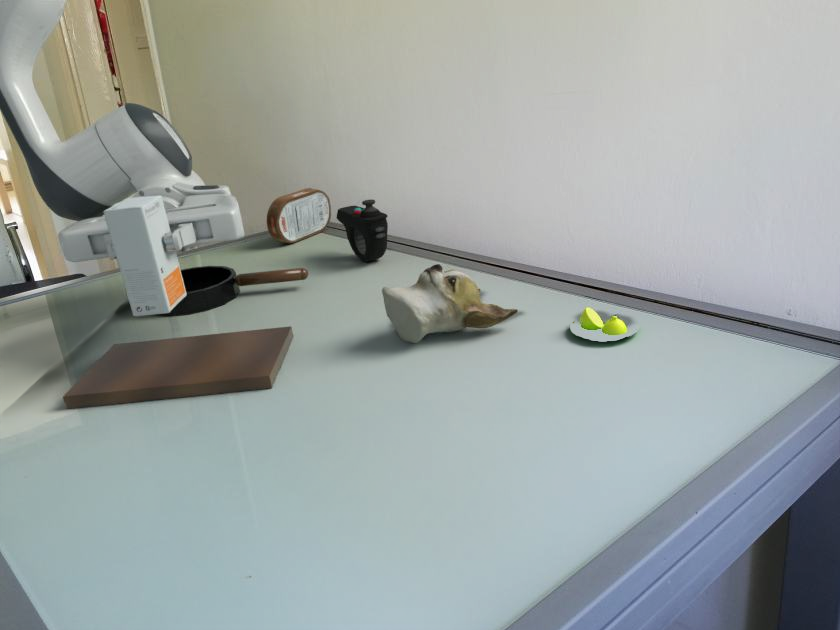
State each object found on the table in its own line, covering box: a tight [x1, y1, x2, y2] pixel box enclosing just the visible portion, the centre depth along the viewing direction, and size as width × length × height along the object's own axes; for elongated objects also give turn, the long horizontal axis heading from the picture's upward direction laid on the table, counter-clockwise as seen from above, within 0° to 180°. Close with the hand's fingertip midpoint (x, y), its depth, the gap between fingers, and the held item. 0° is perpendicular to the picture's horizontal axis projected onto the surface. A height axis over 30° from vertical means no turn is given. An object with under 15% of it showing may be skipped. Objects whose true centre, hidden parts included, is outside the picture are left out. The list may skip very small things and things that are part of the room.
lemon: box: [579, 307, 627, 335], centre depth 83 cm, size 8×8×3 cm
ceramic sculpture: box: [381, 263, 519, 344], centre depth 86 cm, size 11×9×15 cm
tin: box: [266, 187, 332, 244], centre depth 133 cm, size 15×3×8 cm, turn 149°
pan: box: [154, 265, 309, 317], centre depth 107 cm, size 24×13×3 cm, turn 92°
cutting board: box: [62, 325, 294, 410], centre depth 83 cm, size 22×14×2 cm, turn 93°
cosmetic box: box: [103, 195, 187, 317], centre depth 80 cm, size 6×4×12 cm
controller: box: [336, 199, 389, 262], centre depth 117 cm, size 4×12×10 cm, turn 34°
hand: (143, 247), depth 79 cm, fingers closed on cosmetic box, 4 cm apart
